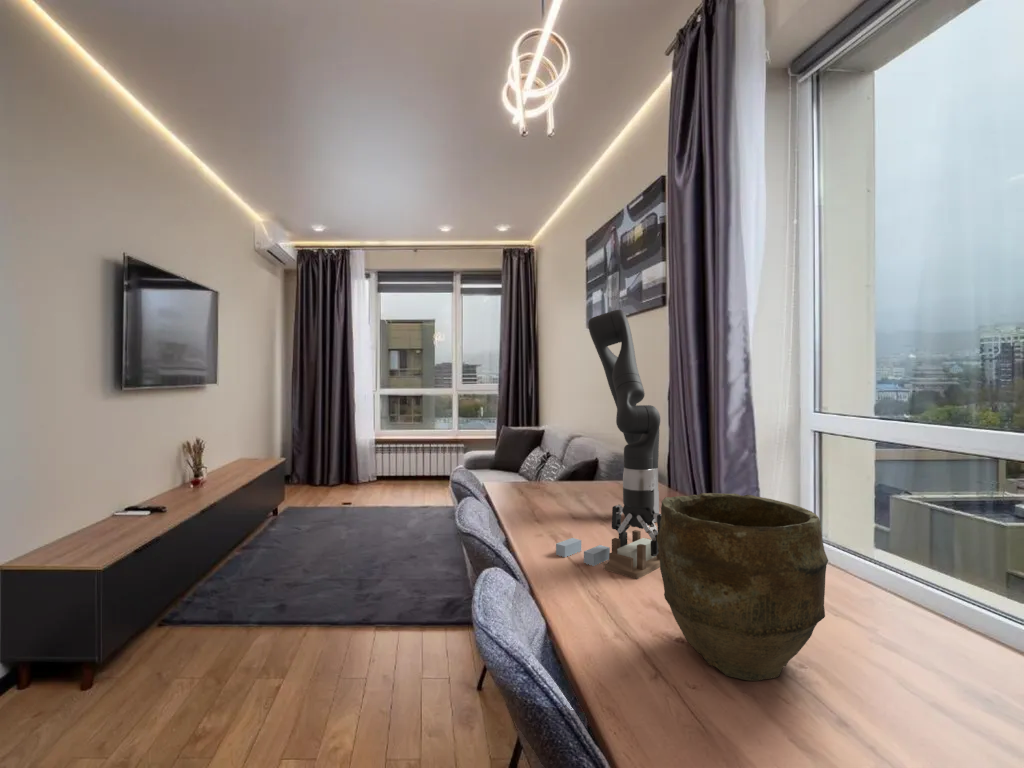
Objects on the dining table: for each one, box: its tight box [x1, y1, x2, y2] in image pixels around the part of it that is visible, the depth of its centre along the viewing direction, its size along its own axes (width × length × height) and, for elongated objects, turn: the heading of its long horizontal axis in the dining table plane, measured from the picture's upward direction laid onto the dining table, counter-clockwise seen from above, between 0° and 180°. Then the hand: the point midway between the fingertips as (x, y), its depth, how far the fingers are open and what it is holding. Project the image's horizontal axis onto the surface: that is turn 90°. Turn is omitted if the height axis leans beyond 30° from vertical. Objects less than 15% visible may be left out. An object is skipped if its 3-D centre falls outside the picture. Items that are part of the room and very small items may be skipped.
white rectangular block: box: [617, 537, 656, 567], centre depth 126 cm, size 4×12×4 cm, turn 136°
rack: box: [603, 529, 660, 580], centre depth 126 cm, size 17×9×7 cm, turn 135°
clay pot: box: [657, 492, 829, 682], centre depth 84 cm, size 25×25×25 cm
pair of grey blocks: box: [555, 537, 611, 567], centre depth 132 cm, size 7×12×3 cm, turn 45°
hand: (638, 551), depth 126 cm, fingers open, 8 cm apart
